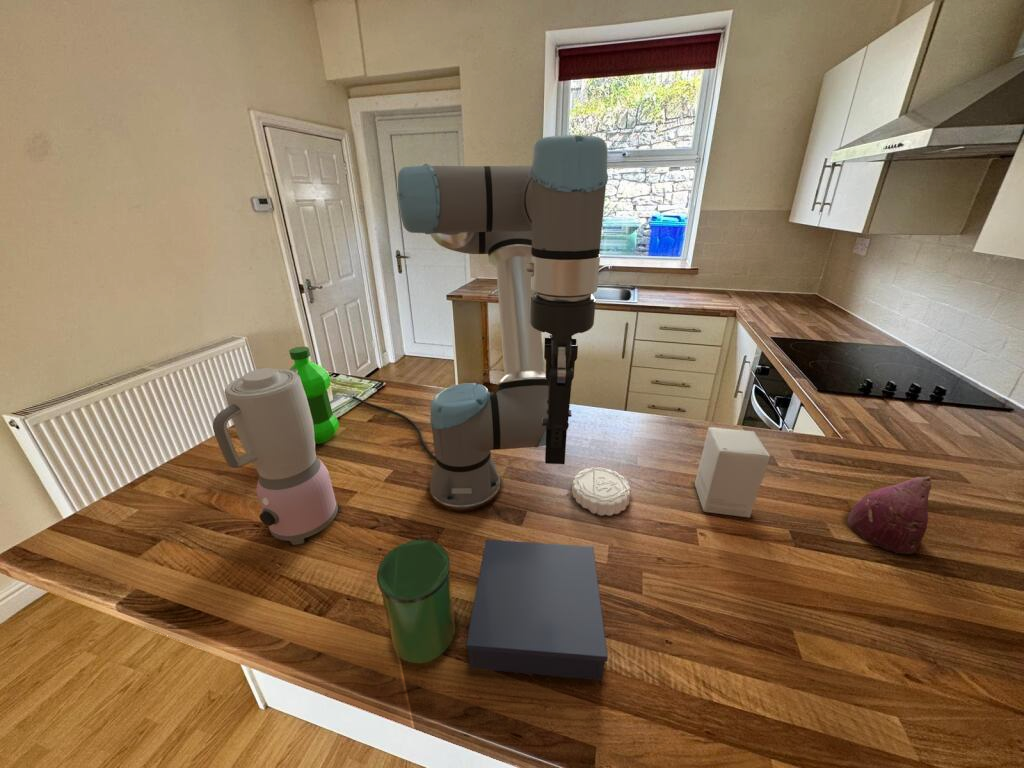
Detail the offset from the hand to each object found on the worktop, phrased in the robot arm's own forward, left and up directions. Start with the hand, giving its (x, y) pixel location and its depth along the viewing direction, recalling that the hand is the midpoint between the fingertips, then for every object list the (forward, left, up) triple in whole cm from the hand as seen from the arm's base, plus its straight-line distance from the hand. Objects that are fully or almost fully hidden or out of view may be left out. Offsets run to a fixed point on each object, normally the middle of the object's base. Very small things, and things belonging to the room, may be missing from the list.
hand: (554, 460), depth 56 cm
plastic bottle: (-63, -33, -25) cm, 75 cm away
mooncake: (-13, +20, -25) cm, 34 cm away
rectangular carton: (-1, +42, -25) cm, 49 cm away
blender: (-31, -38, -25) cm, 55 cm away
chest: (+5, -5, -24) cm, 25 cm away
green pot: (0, -21, -24) cm, 32 cm away
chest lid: (+5, -5, -18) cm, 20 cm away
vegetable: (+18, +62, -25) cm, 69 cm away
